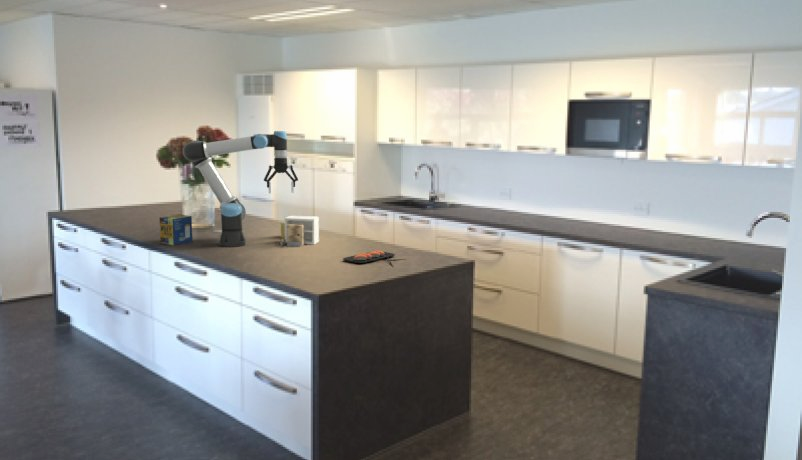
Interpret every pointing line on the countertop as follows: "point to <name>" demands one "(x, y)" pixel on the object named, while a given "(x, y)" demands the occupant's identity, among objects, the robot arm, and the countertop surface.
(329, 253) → the countertop surface
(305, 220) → the cabinet
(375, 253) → the sushi plate
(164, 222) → the protein box
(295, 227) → the door
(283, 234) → the cheese
